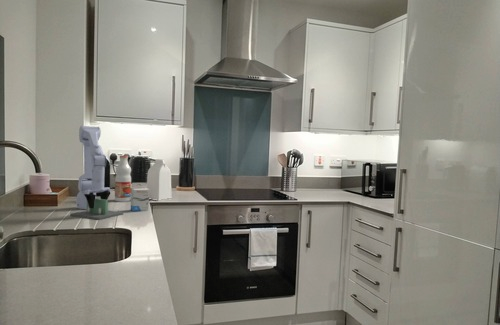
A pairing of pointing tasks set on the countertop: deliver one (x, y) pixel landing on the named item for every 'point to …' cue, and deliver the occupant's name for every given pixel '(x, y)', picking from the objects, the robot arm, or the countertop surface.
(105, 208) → the board
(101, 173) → the robot arm
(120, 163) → the fruit juice
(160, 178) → the milk
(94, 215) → the plate
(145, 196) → the ink box
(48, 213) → the countertop surface
